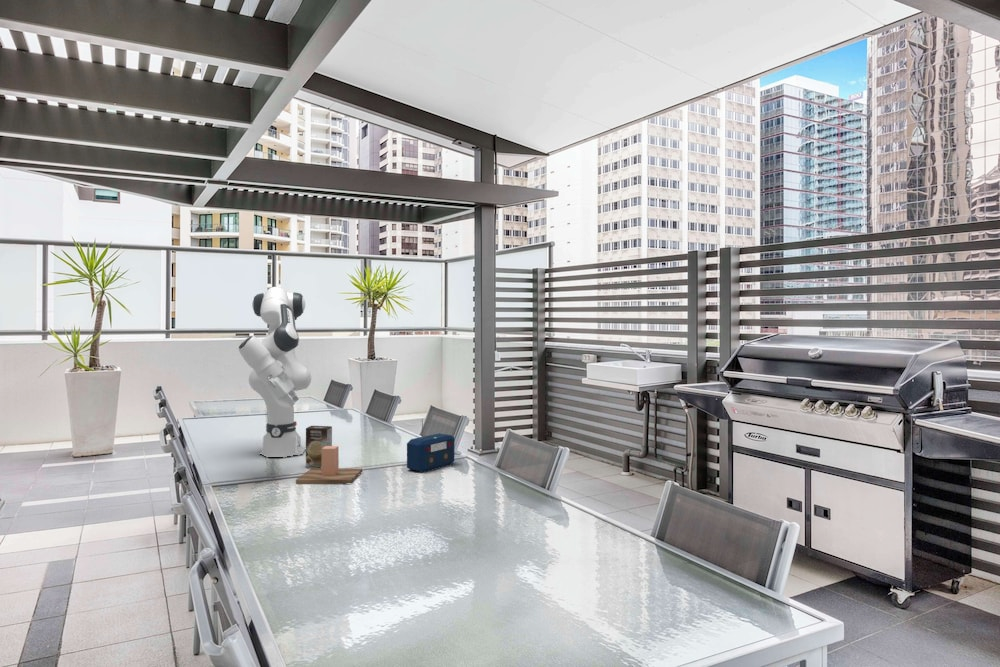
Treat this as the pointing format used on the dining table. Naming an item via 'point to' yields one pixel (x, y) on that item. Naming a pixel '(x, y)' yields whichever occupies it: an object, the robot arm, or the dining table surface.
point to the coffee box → (317, 444)
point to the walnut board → (329, 476)
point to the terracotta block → (330, 460)
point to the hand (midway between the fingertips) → (295, 402)
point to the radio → (430, 452)
